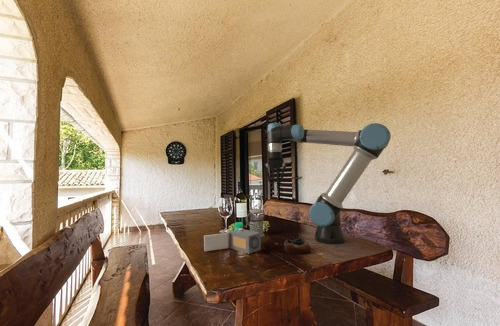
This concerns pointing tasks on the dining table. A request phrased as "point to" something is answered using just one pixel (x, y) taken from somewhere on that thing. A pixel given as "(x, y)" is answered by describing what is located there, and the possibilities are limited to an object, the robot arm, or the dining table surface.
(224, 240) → the side door
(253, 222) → the french press
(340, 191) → the robot arm
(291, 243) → the pastry
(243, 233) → the camera block
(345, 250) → the dining table surface
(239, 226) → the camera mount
